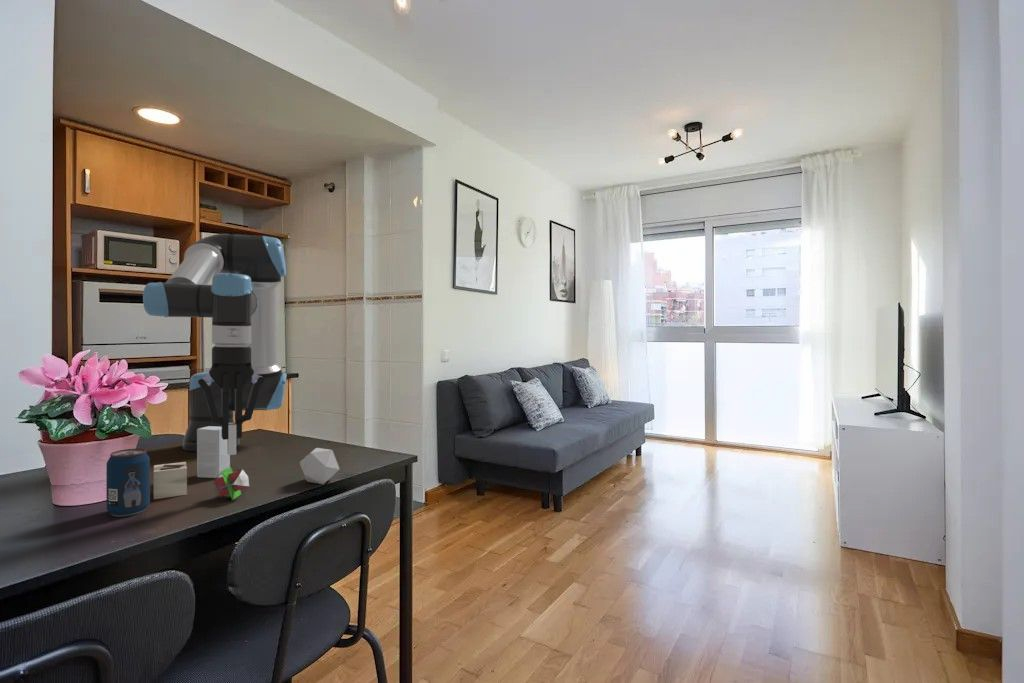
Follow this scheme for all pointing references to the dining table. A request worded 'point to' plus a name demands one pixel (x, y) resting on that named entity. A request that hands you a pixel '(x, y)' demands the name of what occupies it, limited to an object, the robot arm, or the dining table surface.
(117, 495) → the soda can
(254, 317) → the robot arm
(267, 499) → the dining table surface
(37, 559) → the dining table surface
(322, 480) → the die
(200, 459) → the skincare box
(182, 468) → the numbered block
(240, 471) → the geometric puzzle
